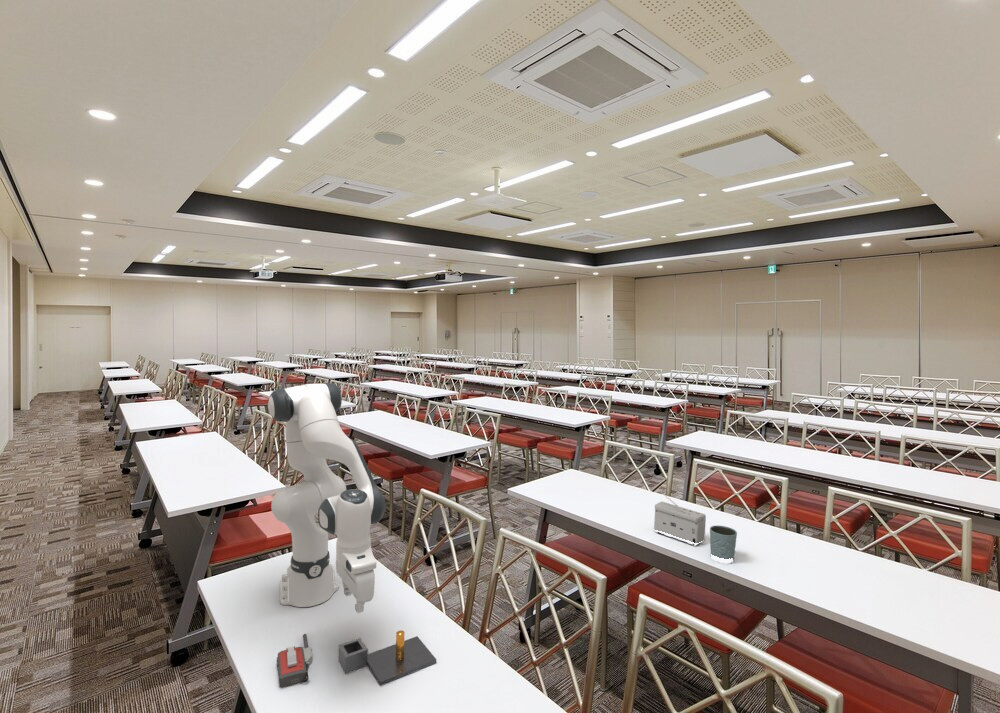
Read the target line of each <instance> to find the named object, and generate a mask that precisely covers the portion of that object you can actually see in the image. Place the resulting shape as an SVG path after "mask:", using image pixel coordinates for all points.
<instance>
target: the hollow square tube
mask: <svg viewBox="0 0 1000 713" xmlns="http://www.w3.org/2000/svg"><path fill="white" fill-rule="evenodd" d="M337 651H338V652H337V653H338V654H337V655H338V656H337V658H338V659H337V660H338V663H339V665H340V667H341V670H343V673H344V674H345V675H346V674H349V673H352V672H354V671H357V670H360V669H362V668H365V667H368V654H369V649H368V648H367V646H366V645H365V643H364V642H363V640H362V639H361V637H358V638H355V639H352V640H350V641H347V642H343V643H341V644H338V649H337Z"/></svg>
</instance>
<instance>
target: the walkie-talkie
mask: <svg viewBox="0 0 1000 713" xmlns="http://www.w3.org/2000/svg"><path fill="white" fill-rule="evenodd" d="M302 638H303V645H304V647H303V646H296V645H294V646H291V647H287V648H286V649H284V650H280V651H279V652H278V653H277V657H276V667H277V669H278V670H277V671H278V672H277V673H278V684H279V686H278V687H279V688H281V689H284V688H287V687H291V686H295V685H299V684H302V683H306V682H308V681H309V670H308V668H309V666H310V665H311V664H312V663H313V653H312V652H313V650H312V649H313V648H312V646H309V642H308V636H307V633H303V634H302Z"/></svg>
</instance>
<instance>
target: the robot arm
mask: <svg viewBox="0 0 1000 713" xmlns="http://www.w3.org/2000/svg"><path fill="white" fill-rule="evenodd" d="M342 400H343V396H342V393H341V390H340V387H339V386H338V385H337V384H336V383H333V382H324V383H305V384H302V385H295V386H290V387H286V388H284V387H282V388H278V389H276V390H273V391H272V392H271V393H270V395H269V398H268V403H267V407H268V412H269V414H270V416H271V418H272V419H273V420H274V421H275V422H279V423H280V422H281V423H285V443H286V445H285V446H286V453H287V462H288V465H289V466H290V468H292V469H293V470H295V471H297V472H301V473H302V475H303V477H304V481H303V482H300V483H298V484H294V485H290V486H287V487H286V488H284V489H282V490H280V491H278V492H277V493H275V494H274V495H273V497H272V500H271V502H270V503H271V505H270V506H271V507H270V509H271V513H272V515H273V516H274V518H275V519H276V520H277V521H278V522H280V523H283V524H284V525H285V526H287V528H288V530H289V532H290V535H291V543H292V544H291V545H292V548H291V549H292V555H291V557H290V558H291V559H290V565H289V566H288V567H287V568H286V574H281V579H280V581H279V604H280V605H282V606H293V607H297V608H298V607H299V608H308V607H313V606H317V605H320V604H323V603H325V602H327V601H328V600H330V598H331V597H332V596H333V594H334V593H335V592H336V591H338V590H339V589H340V587H339V586H340V585H339V583H337V582H336V581H335V570H336V573H337V575H338V576H339V577H340V579H341V582H342V587H343V595H345V597H349V596H351V595H353V598H355V600H356V604H354V608H355V611H356V613H357V614H360V613H363V612H364V610H365V606H364V605H365V604H366V603H368V602H371V601H372V600H373V598H374V595H375V582H376V581H375V579H376V578H375V577H376V576H375V569H376V568H377V560H376V558H375V556H374V554H373V553H374V552H373V548H372V538H371V534H370V530H371V526H372V525H375V524H379V522H380V521H381V519H382V518H383V516H384V515H385V513H386V509H387V504H386V500H385V497H384V494H383V493H382V492H381V490H380V489H379V487H378V485H377V484H376V482H375V480H374V478H373V476H372V475H373V474H372V473H371V471H370V468H369V466H368V464H367V462H366V460H365V458H364V456H363V454H362V451H361V449H360V447H359V446H358V444H357V443H356V441H355V440H354V439H351V438H349V437H348V436H347V435H346V433H345V432H344V431H343V430H342V428H341V426H340V422H339V419H338V416H337V413H338V411H339V410H340V409H341V407H342V402H343V401H342ZM327 460H332V461H335V462H339V463H341V464H343V465H344V466H345V467H347V468H348V471H349V473H350V474H351V477H352V479H353V481H354V484H355V485H356V488H357V489H355V488H353V489H351V488H349V489H347V486H346V485H347V484H346V483H345V481H344V480H343V478H342V477H340V476H339V475H336V474H335V473H334V472H333V471H332V470H331V468H330V467H329V466H328V463H327ZM316 514H318V516H317V517H318V522H316V520H315V517H316ZM329 534H331V535H336V536H337V538H336V543H335V544H336V548H335V549H336V551H335V552H336V553H335V556H336V557H335V568H334V566H333V565H332V564H331V563H330V560H331V558H330V557H331V555H330V551H329Z"/></svg>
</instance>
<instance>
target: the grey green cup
mask: <svg viewBox="0 0 1000 713" xmlns="http://www.w3.org/2000/svg"><path fill="white" fill-rule="evenodd" d="M737 536H738V532H737V531H736V529H734V528H732V527H730V526H729V527H728V526H726V525H725V526H724V525H712V526H710V527H709V543H710V548H709V549H710V555H711V554H712V555H714V556H717V557H719V558H724V559H729V558H730V559H731V558H734V559H735V552H736V550H735V549H736V547H737V546H736V544H737V538H738V537H737Z"/></svg>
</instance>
